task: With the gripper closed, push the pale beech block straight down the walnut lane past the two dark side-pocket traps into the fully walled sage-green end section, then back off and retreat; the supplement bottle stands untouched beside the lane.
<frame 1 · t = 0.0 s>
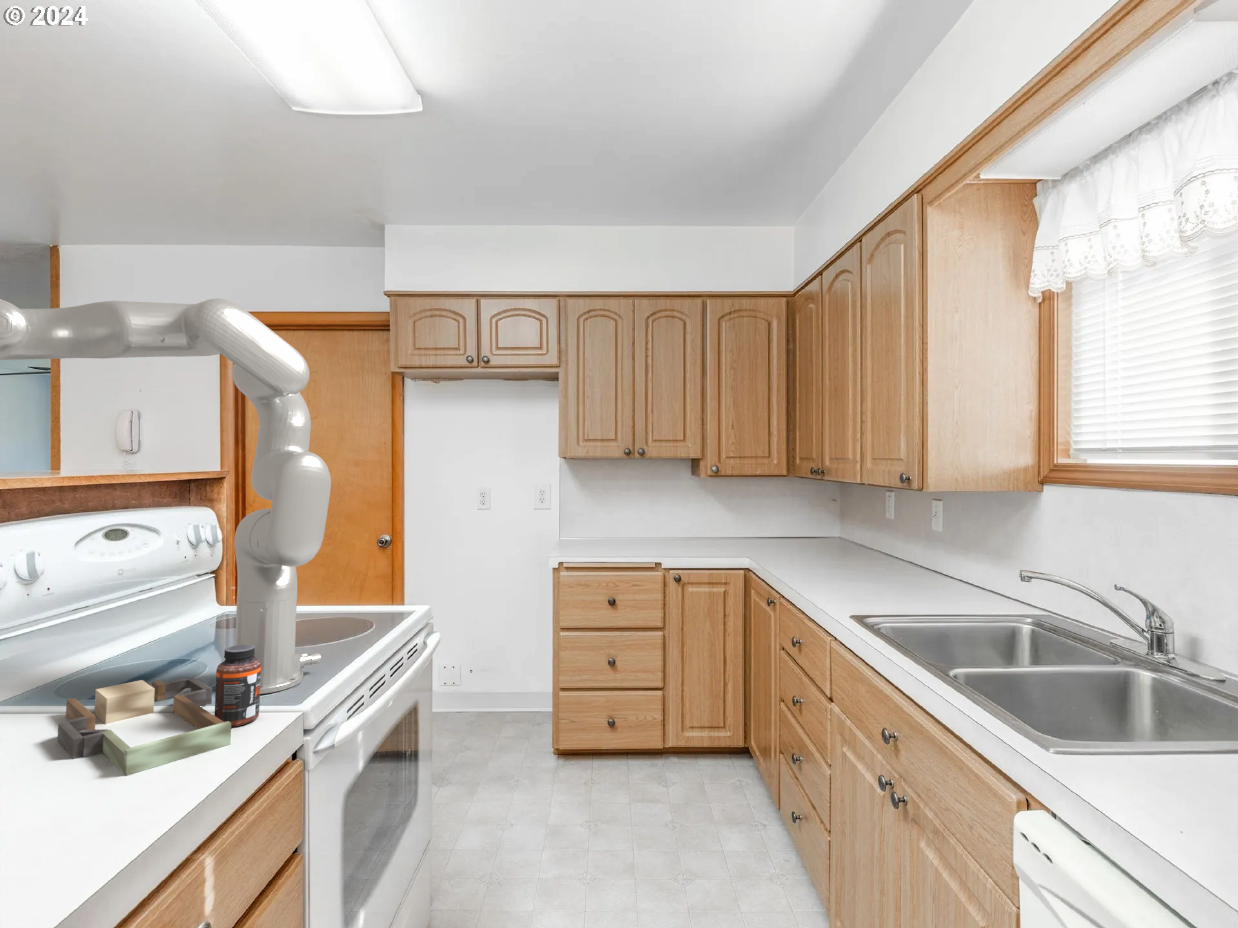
supplement bottle: (236, 722, 96), on the counter
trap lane: (145, 730, 92), on the counter
block: (124, 714, 98), on the counter
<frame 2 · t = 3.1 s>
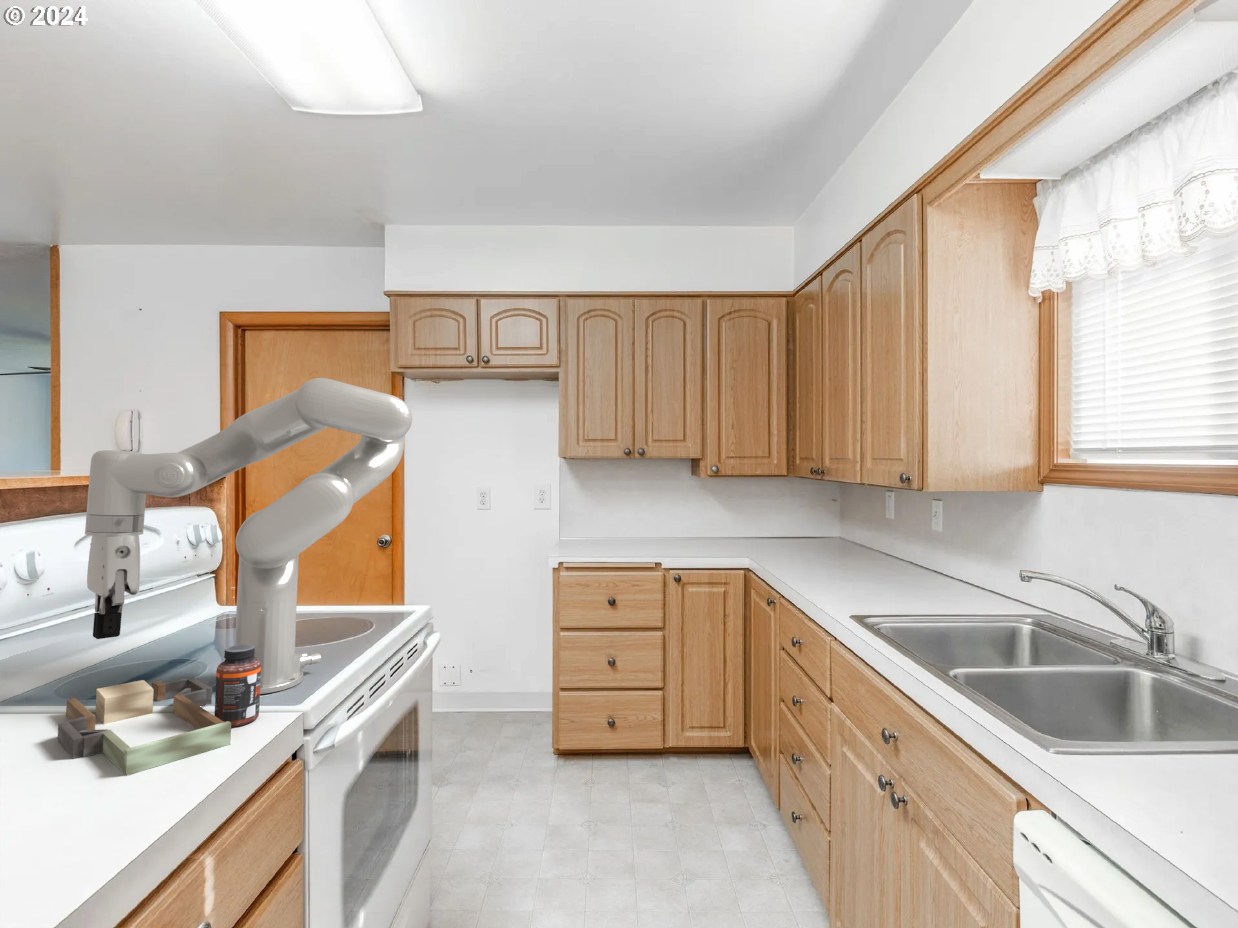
hand: (106, 636, 102), 11 cm above the counter, fingers closed
nothing on the counter moved.
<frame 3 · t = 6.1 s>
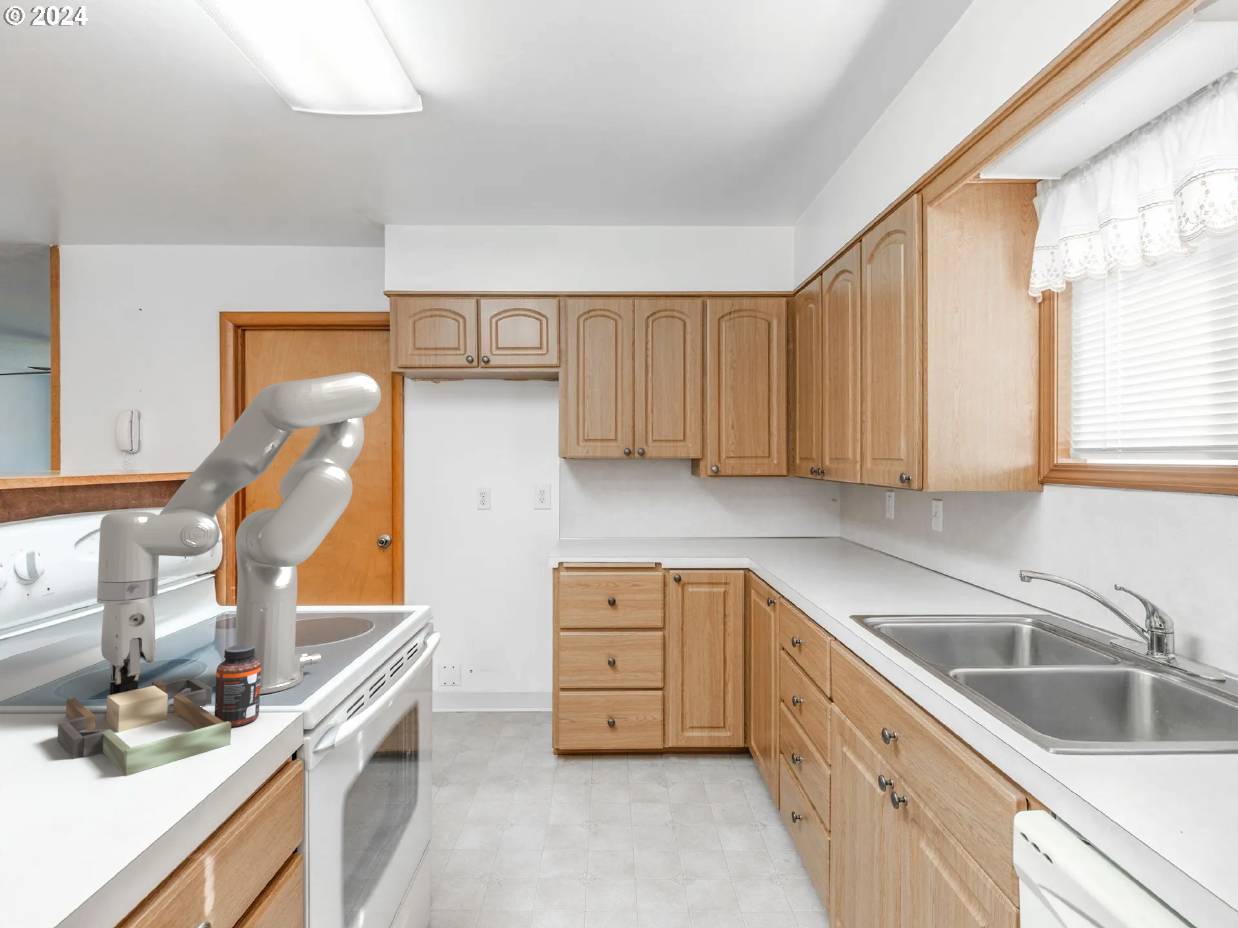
hand: (123, 706, 98), 1 cm above the counter, fingers closed
block: (136, 721, 95), on the counter, touching gripper
everything else where it was.
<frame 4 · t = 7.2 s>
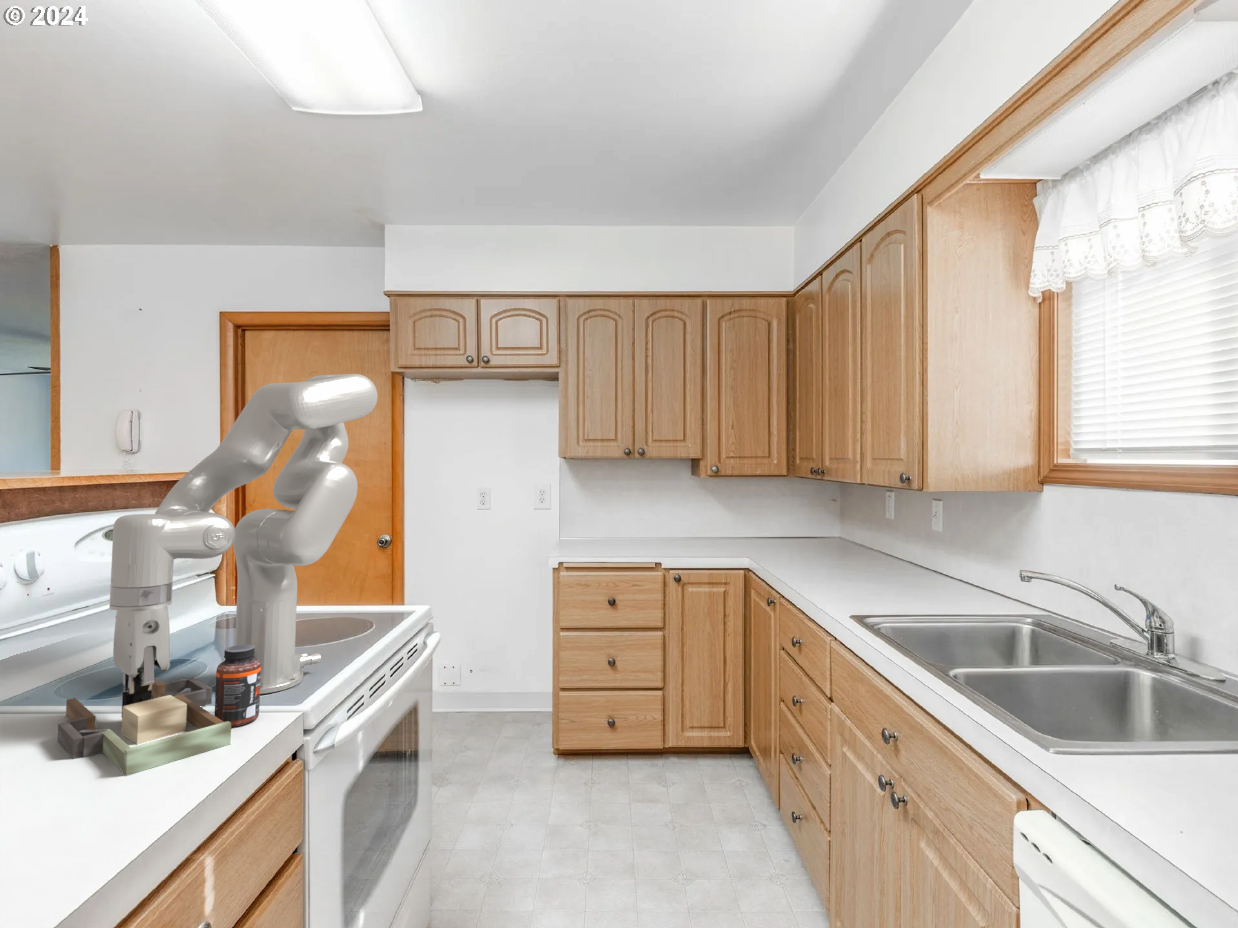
hand: (136, 717, 94), 1 cm above the counter, fingers closed
block: (153, 732, 92), on the counter, touching gripper
everything else where it was.
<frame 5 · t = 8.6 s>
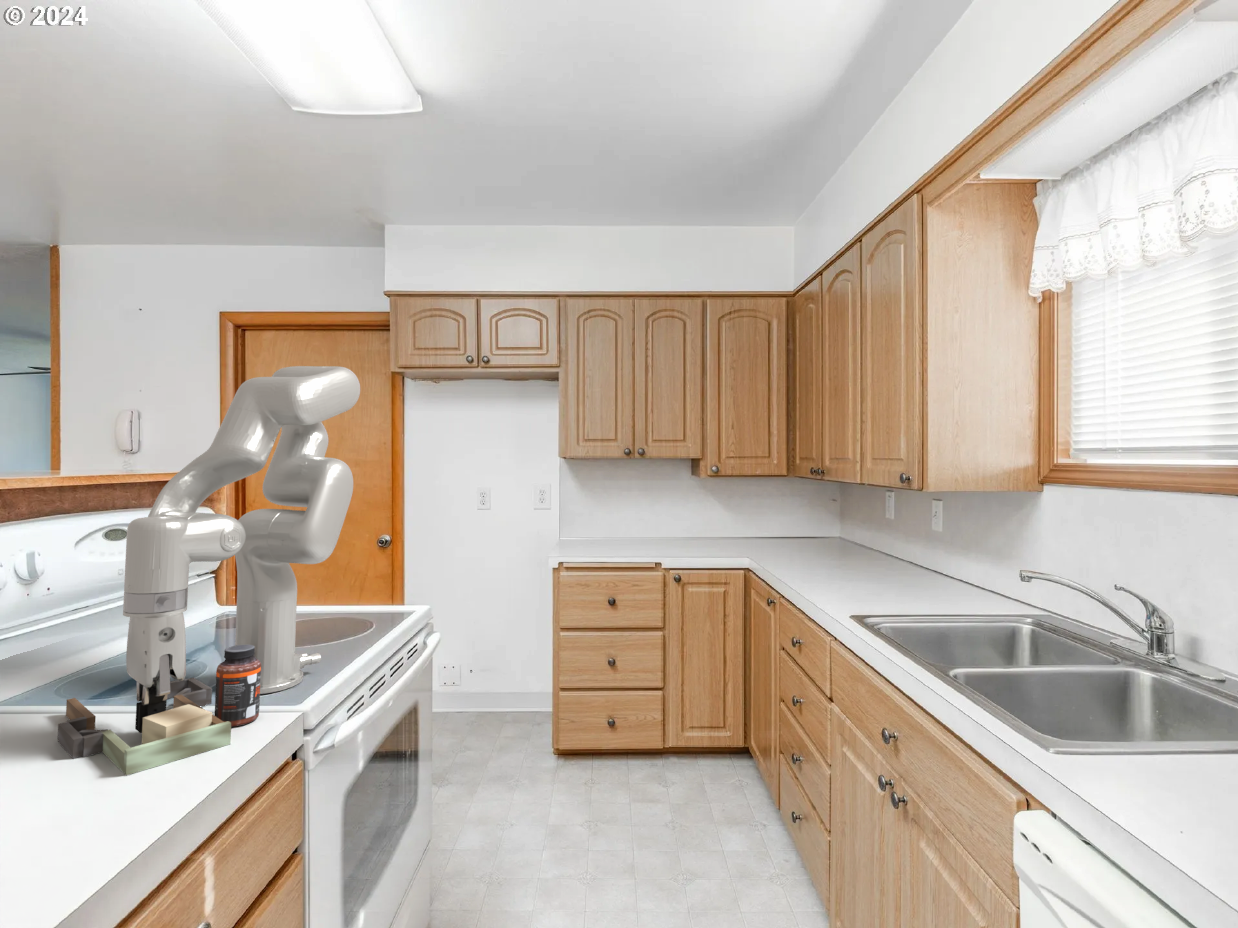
hand: (150, 728, 90), 1 cm above the counter, fingers closed
block: (176, 742, 89), on the counter, touching gripper
everything else where it was.
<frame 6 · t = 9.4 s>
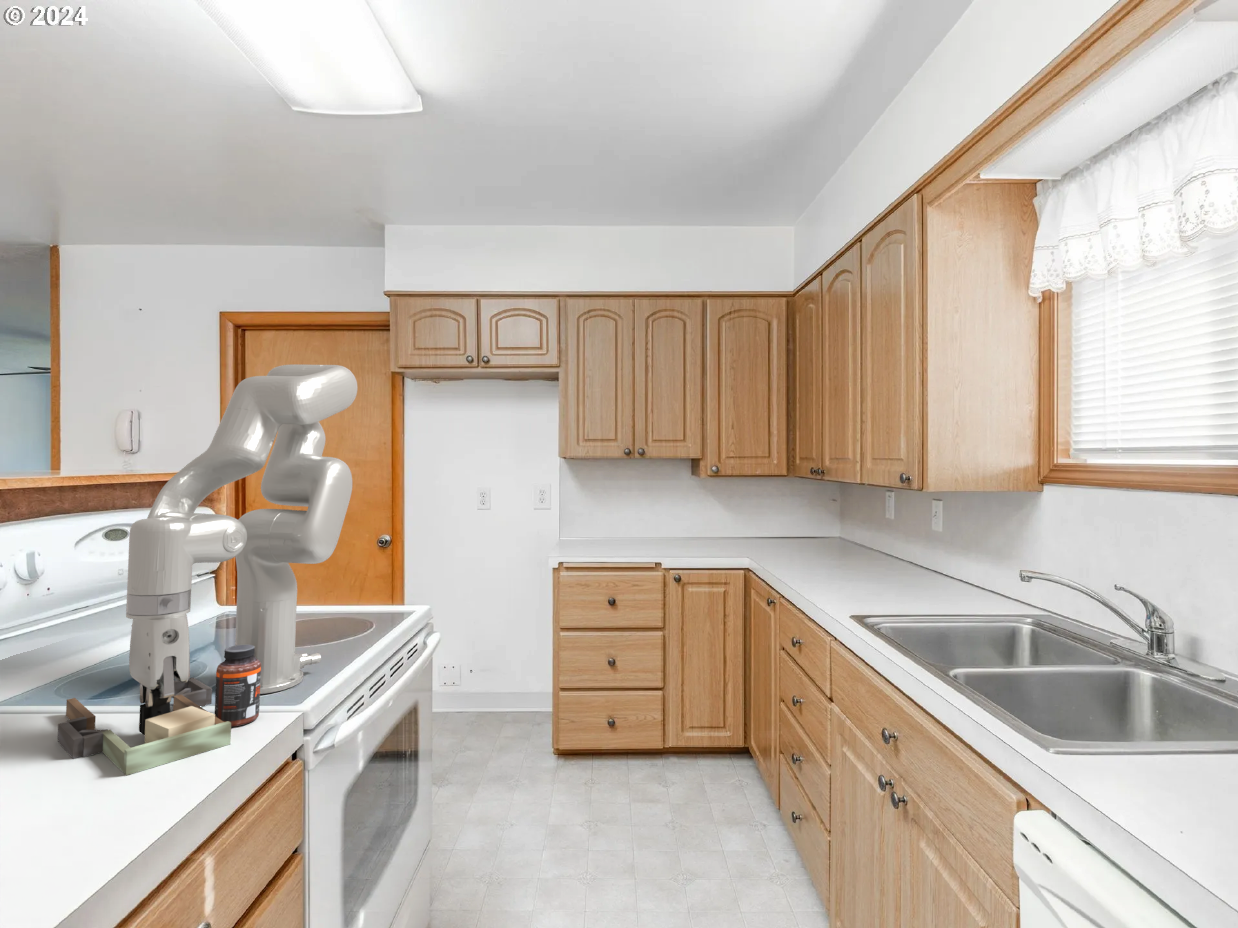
hand: (154, 730, 90), 1 cm above the counter, fingers closed
block: (179, 745, 88), on the counter
everything else where it was.
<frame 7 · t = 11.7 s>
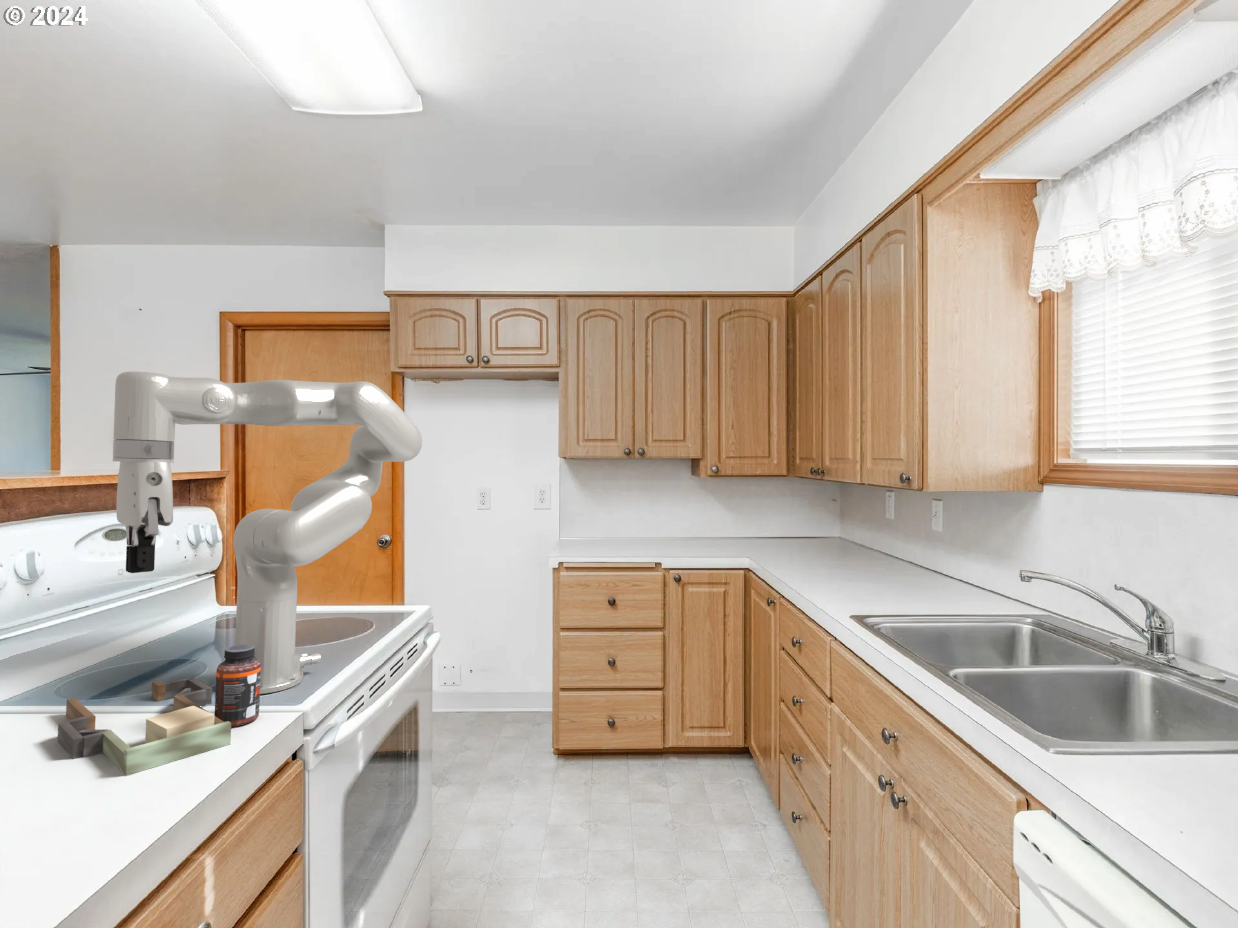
hand: (140, 571, 96), 23 cm above the counter, fingers closed
nothing on the counter moved.
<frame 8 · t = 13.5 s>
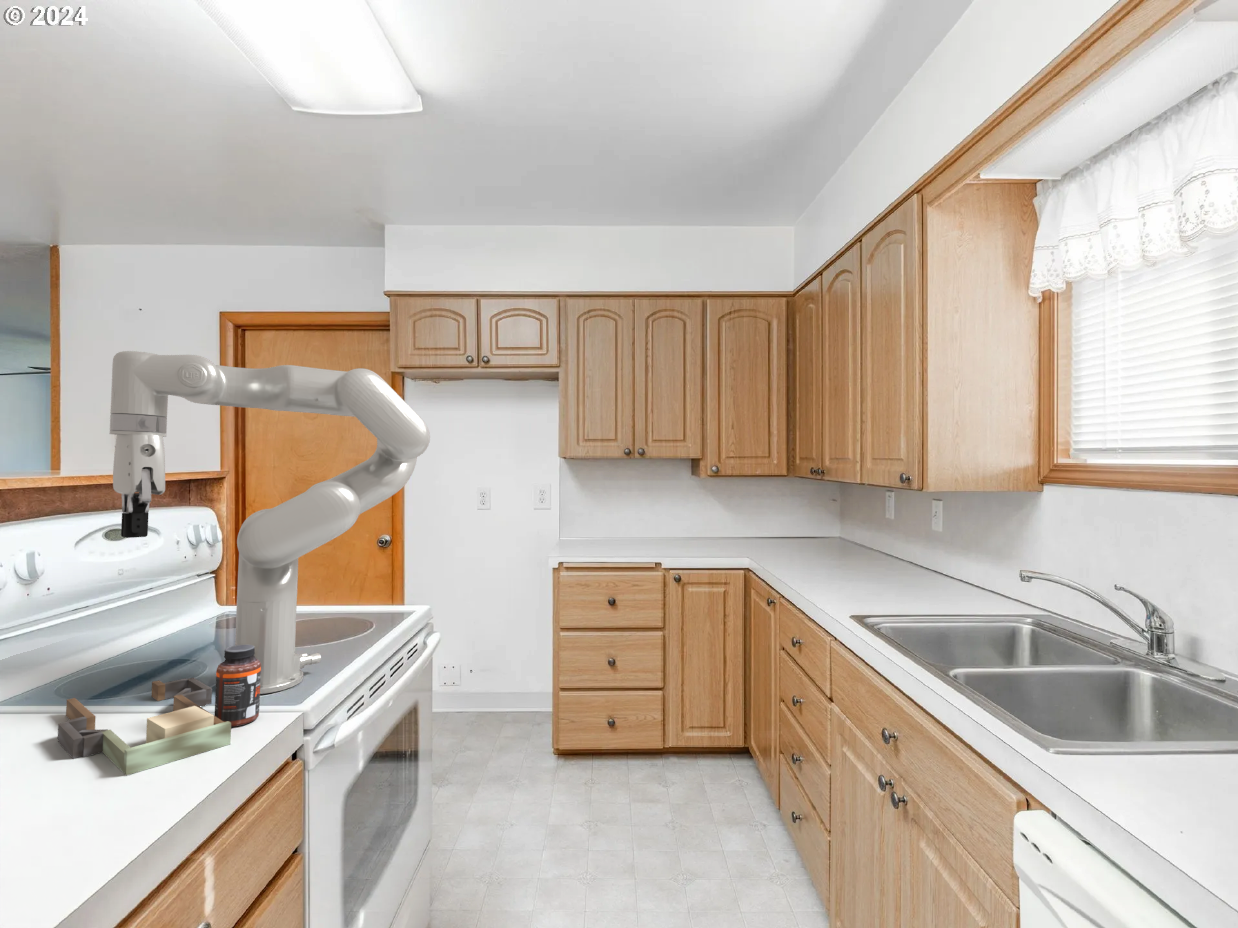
hand: (134, 536, 103), 27 cm above the counter, fingers closed
nothing on the counter moved.
at the end: block inside the target area (1.8 cm from its centre), on the counter; block tilted 0° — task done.
